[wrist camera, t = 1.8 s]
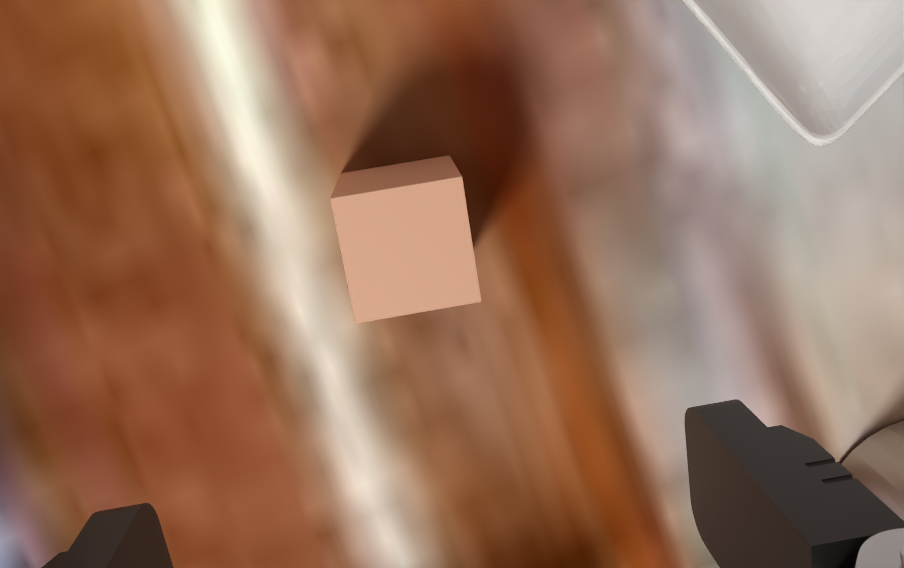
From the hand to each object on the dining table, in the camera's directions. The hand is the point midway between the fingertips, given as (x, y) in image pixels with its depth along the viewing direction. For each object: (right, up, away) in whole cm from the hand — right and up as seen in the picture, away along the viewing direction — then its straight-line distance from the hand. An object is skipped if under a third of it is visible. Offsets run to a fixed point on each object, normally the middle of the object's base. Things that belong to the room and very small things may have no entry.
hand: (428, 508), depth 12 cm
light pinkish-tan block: (-2, +6, +21) cm, 22 cm away
